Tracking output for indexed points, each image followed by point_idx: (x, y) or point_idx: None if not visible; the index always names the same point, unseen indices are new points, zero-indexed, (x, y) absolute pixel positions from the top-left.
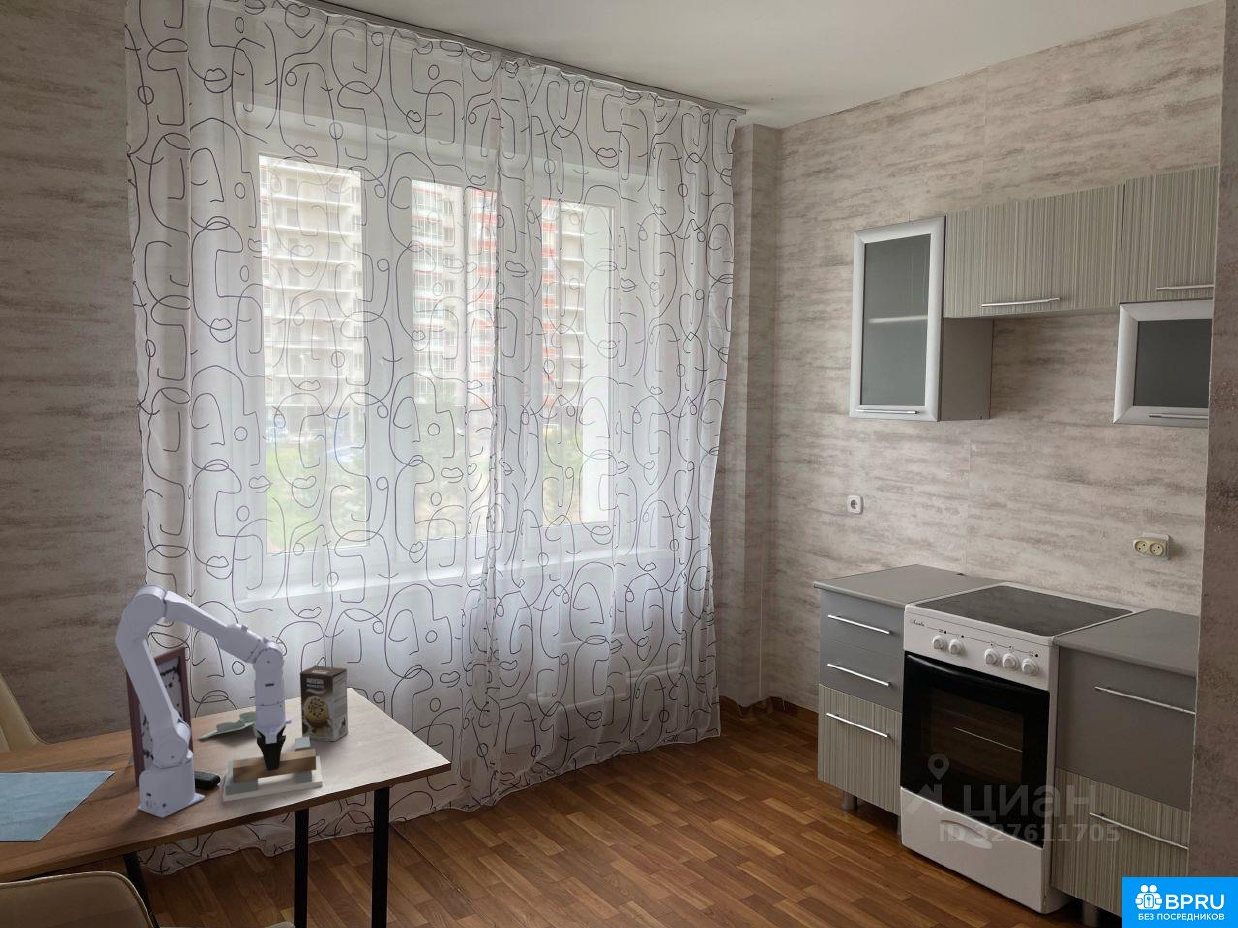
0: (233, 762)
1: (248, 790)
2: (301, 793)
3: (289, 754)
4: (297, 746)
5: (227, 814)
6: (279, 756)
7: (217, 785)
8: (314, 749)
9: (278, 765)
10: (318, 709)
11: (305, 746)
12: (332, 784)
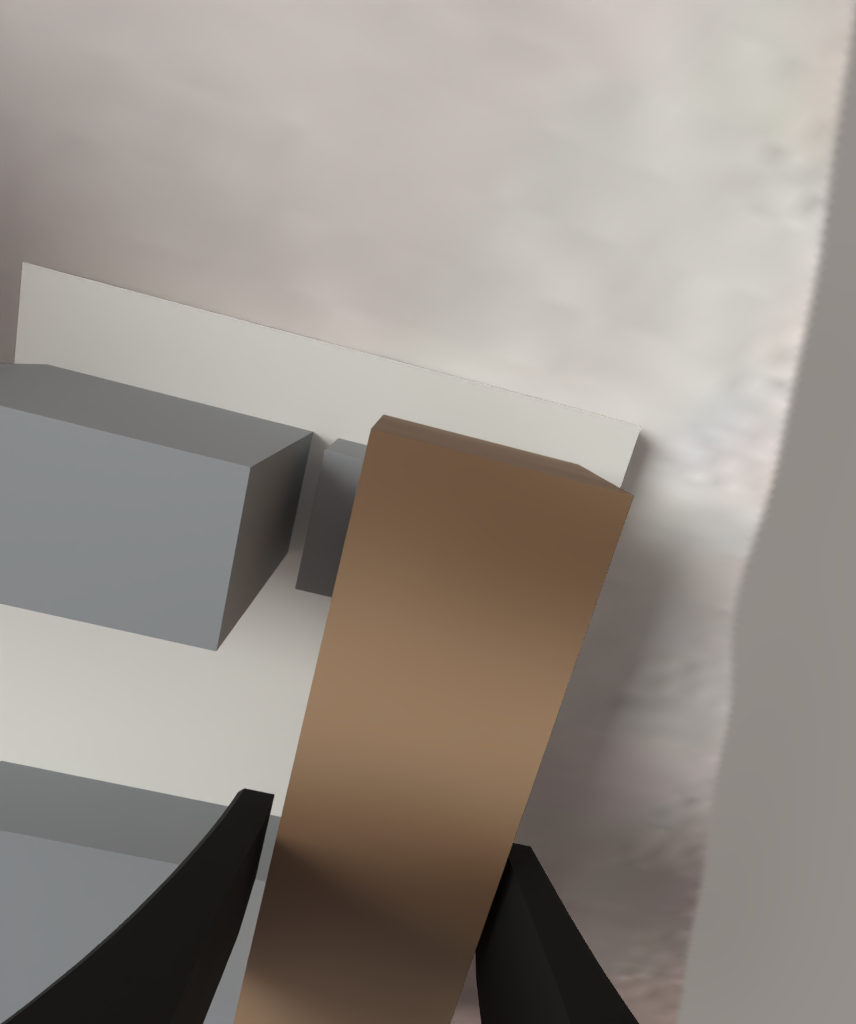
0: None
1: None
2: (645, 594)
3: (366, 748)
4: (156, 610)
5: None
6: (610, 983)
7: None
8: (393, 444)
9: (546, 875)
10: None
11: (214, 521)
12: (657, 343)
